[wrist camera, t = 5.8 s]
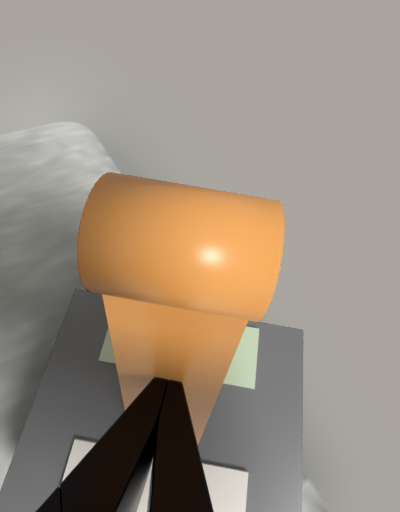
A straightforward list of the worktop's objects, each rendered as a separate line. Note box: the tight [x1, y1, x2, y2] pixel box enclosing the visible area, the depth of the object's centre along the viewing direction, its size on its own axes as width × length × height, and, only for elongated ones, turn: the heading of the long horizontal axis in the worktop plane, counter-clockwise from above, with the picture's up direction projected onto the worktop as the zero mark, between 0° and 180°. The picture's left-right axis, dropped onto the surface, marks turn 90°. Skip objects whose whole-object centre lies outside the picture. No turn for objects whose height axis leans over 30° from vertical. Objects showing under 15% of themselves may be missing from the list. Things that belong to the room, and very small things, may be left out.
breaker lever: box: [77, 172, 285, 445], centre depth 9 cm, size 2×3×12 cm
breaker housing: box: [0, 289, 303, 512], centre depth 15 cm, size 10×13×4 cm
